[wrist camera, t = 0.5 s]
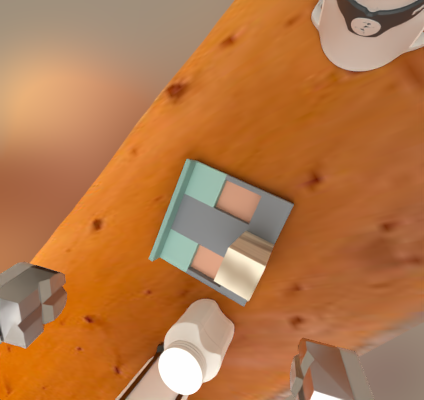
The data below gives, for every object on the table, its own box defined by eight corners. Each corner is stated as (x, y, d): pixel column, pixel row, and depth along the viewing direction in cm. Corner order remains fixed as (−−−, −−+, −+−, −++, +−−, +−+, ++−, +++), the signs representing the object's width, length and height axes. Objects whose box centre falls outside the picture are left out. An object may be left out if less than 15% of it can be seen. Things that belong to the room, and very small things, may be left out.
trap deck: (196, 160, 55) (186, 158, 50) (294, 203, 49) (293, 206, 44) (160, 252, 60) (148, 259, 55) (245, 302, 54) (240, 314, 49)
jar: (179, 313, 59) (141, 356, 45) (207, 290, 56) (176, 328, 42) (211, 355, 57) (182, 413, 43) (242, 334, 55) (222, 388, 40)
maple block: (245, 230, 50) (228, 247, 38) (274, 244, 49) (265, 266, 37) (234, 256, 52) (213, 280, 39) (261, 271, 50) (248, 301, 38)
